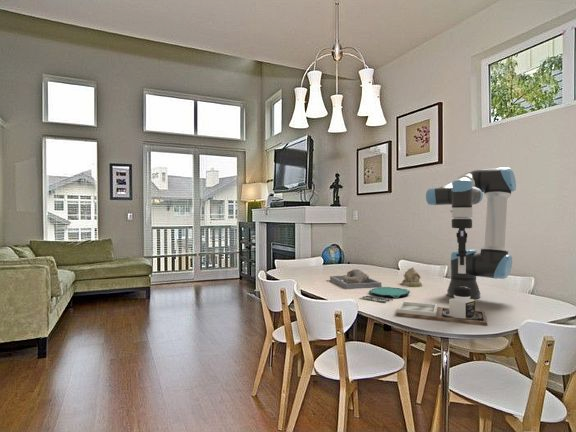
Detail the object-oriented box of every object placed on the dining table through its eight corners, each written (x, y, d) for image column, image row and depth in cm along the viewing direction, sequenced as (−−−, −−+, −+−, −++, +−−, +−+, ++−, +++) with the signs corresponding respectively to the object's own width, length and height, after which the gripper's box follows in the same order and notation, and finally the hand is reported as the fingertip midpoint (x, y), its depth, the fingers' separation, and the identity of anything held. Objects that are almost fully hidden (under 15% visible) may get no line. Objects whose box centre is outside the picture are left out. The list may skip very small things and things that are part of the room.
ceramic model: (398, 282, 227) (398, 266, 227) (416, 282, 228) (416, 265, 228) (408, 287, 213) (408, 269, 213) (427, 286, 214) (427, 269, 214)
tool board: (484, 313, 157) (484, 307, 157) (487, 325, 140) (487, 318, 140) (402, 305, 170) (402, 300, 170) (396, 315, 154) (396, 309, 154)
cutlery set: (416, 293, 196) (416, 289, 196) (388, 305, 174) (388, 300, 174) (381, 289, 209) (381, 285, 209) (352, 299, 187) (352, 295, 187)
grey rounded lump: (362, 298, 221) (362, 281, 234) (371, 289, 217) (371, 272, 229) (338, 285, 219) (340, 268, 232) (347, 275, 215) (348, 259, 227)
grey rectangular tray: (361, 278, 241) (361, 274, 241) (381, 286, 214) (381, 282, 214) (330, 280, 236) (330, 276, 236) (346, 288, 209) (346, 284, 209)
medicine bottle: (465, 320, 147) (465, 289, 147) (448, 316, 153) (448, 286, 153) (475, 317, 151) (475, 287, 151) (458, 313, 157) (458, 284, 157)
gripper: (452, 218, 164) (452, 266, 164) (451, 218, 142) (451, 274, 142) (471, 218, 161) (471, 267, 161) (473, 218, 139) (473, 276, 139)
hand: (461, 271), depth 152 cm, fingers open, 13 cm apart
